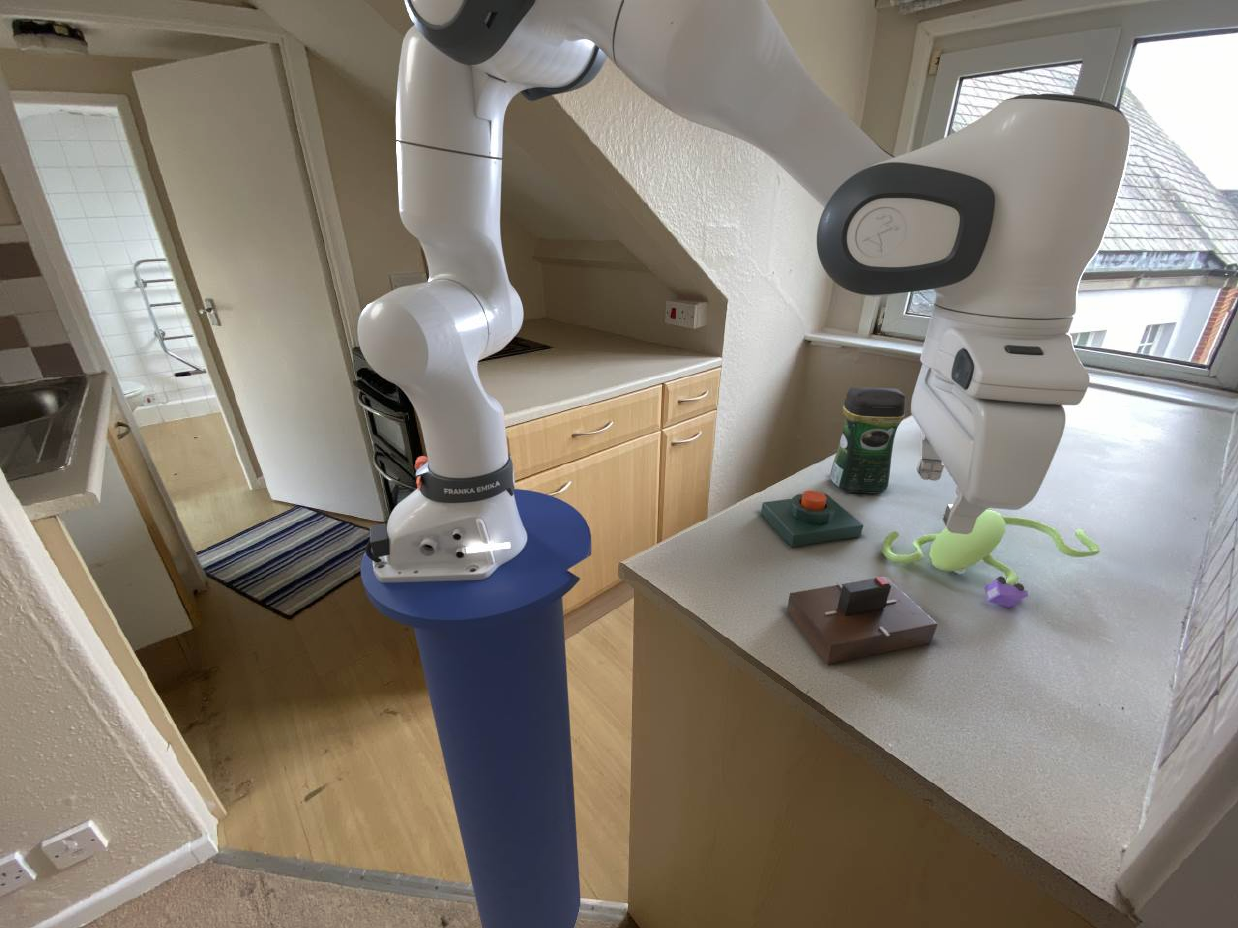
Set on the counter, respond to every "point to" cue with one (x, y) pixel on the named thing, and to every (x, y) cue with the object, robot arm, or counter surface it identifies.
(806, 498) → the button
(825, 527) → the button box
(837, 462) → the coffee jar
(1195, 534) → the counter surface
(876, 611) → the knob panel
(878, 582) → the dark block
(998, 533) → the figurine
